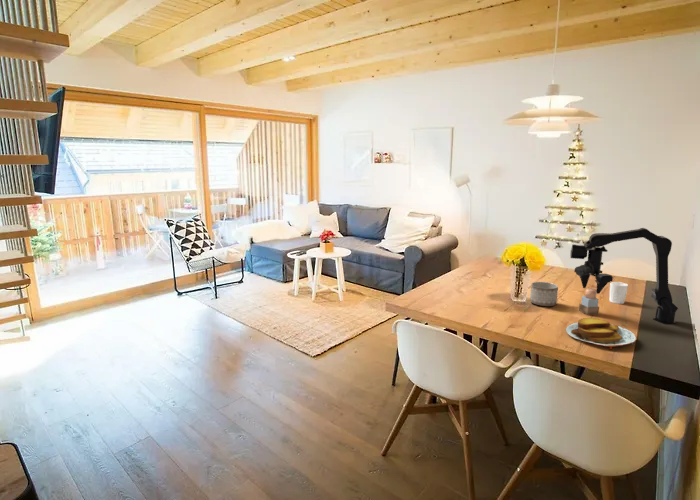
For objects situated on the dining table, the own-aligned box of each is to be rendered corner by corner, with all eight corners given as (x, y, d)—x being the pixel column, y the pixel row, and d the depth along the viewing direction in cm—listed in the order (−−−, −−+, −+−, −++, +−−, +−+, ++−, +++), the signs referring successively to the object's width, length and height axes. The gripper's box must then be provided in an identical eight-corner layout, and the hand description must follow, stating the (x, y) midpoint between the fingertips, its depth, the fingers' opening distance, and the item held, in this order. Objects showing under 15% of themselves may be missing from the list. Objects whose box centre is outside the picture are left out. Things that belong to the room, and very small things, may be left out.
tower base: (598, 314, 192) (599, 307, 192) (587, 315, 192) (587, 307, 191) (589, 310, 198) (590, 303, 198) (578, 311, 198) (579, 303, 197)
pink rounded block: (598, 298, 191) (599, 291, 191) (589, 299, 191) (590, 291, 190) (591, 295, 196) (592, 288, 195) (582, 296, 195) (583, 288, 195)
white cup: (628, 304, 205) (630, 286, 203) (611, 303, 207) (614, 285, 205) (621, 299, 213) (623, 282, 211) (605, 299, 215) (607, 281, 213)
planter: (524, 301, 212) (525, 283, 210) (542, 298, 217) (544, 280, 215) (543, 309, 201) (545, 289, 199) (561, 306, 205) (563, 286, 203)
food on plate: (626, 357, 149) (628, 341, 148) (556, 338, 167) (558, 324, 166) (641, 337, 167) (643, 322, 165) (576, 321, 184) (578, 308, 183)
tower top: (597, 306, 192) (598, 299, 191) (587, 307, 192) (588, 299, 191) (590, 303, 197) (591, 295, 196) (581, 303, 197) (582, 296, 196)
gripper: (566, 256, 198) (563, 286, 201) (593, 265, 180) (589, 297, 183) (586, 255, 199) (583, 285, 202) (615, 264, 181) (611, 296, 184)
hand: (590, 290), depth 193 cm, fingers open, 9 cm apart
